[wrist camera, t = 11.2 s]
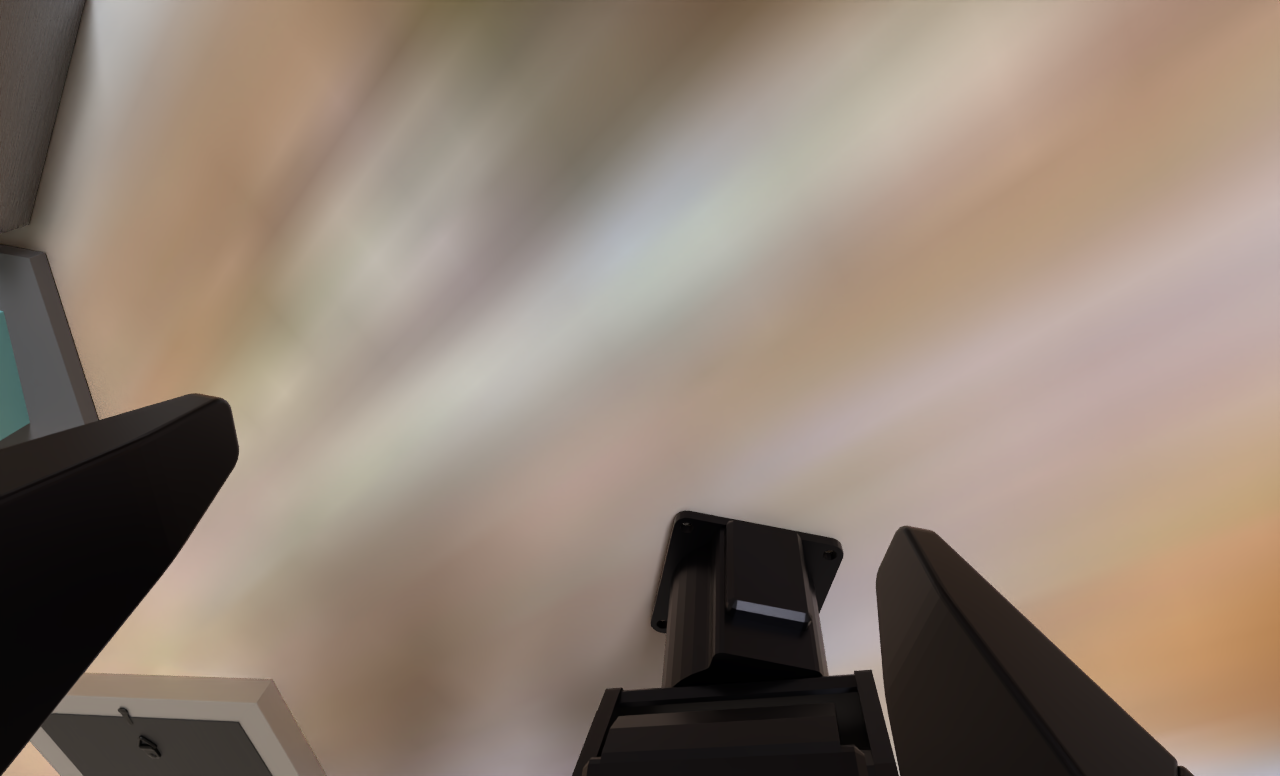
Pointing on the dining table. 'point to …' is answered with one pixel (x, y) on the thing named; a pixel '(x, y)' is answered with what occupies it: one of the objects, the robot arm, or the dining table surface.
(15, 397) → the teal block
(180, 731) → the picture frame
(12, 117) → the grey holder
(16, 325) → the dark grey pad
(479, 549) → the dining table surface
